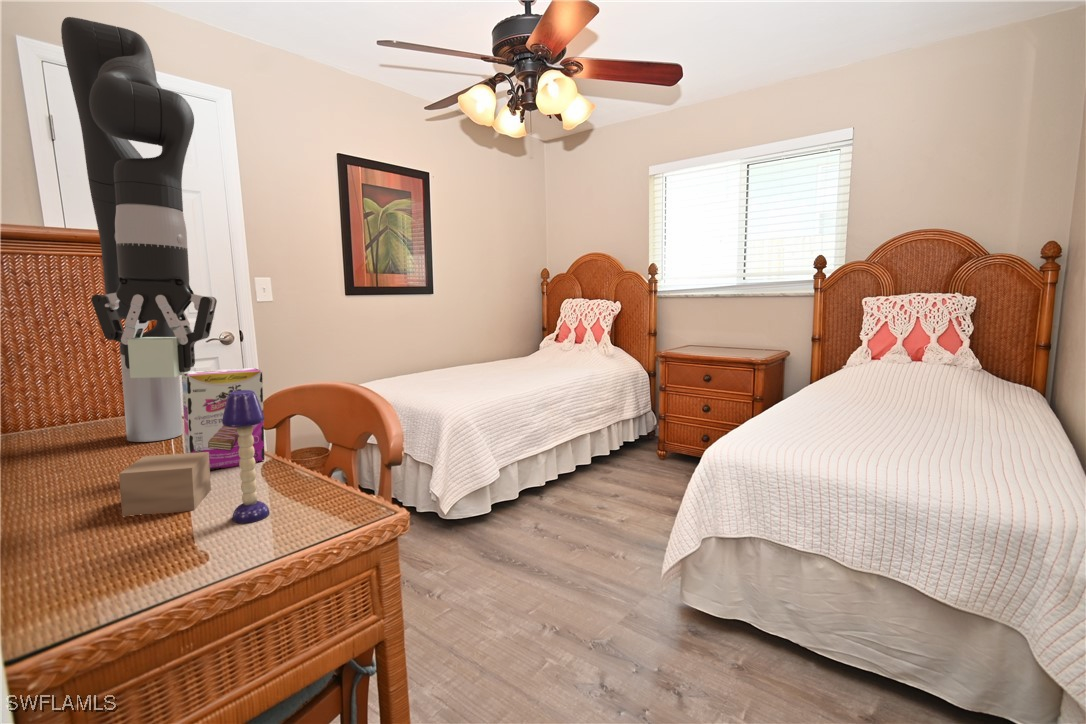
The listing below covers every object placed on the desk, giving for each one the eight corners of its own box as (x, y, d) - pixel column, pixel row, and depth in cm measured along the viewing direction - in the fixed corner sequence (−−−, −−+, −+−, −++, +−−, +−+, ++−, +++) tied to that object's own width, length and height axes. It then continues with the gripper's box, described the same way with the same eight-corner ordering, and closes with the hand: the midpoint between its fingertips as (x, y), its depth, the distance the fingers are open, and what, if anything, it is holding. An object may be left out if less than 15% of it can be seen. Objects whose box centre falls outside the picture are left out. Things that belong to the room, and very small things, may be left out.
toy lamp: (262, 523, 65) (256, 394, 63) (221, 526, 64) (214, 394, 62) (273, 509, 70) (268, 388, 68) (235, 511, 69) (229, 388, 67)
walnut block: (146, 496, 74) (144, 456, 73) (210, 490, 77) (208, 451, 76) (122, 518, 66) (118, 473, 66) (194, 511, 69) (191, 468, 68)
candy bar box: (191, 475, 83) (185, 374, 81) (185, 468, 86) (179, 371, 84) (267, 461, 90) (263, 369, 89) (258, 455, 94) (254, 366, 92)
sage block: (148, 372, 71) (146, 337, 71) (190, 372, 73) (187, 337, 72) (130, 377, 66) (127, 339, 66) (174, 377, 68) (172, 339, 67)
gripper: (223, 249, 73) (229, 367, 75) (104, 245, 69) (114, 369, 71) (203, 243, 66) (210, 374, 68) (69, 238, 62) (81, 376, 64)
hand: (161, 371), depth 70 cm, fingers closed on sage block, 5 cm apart
